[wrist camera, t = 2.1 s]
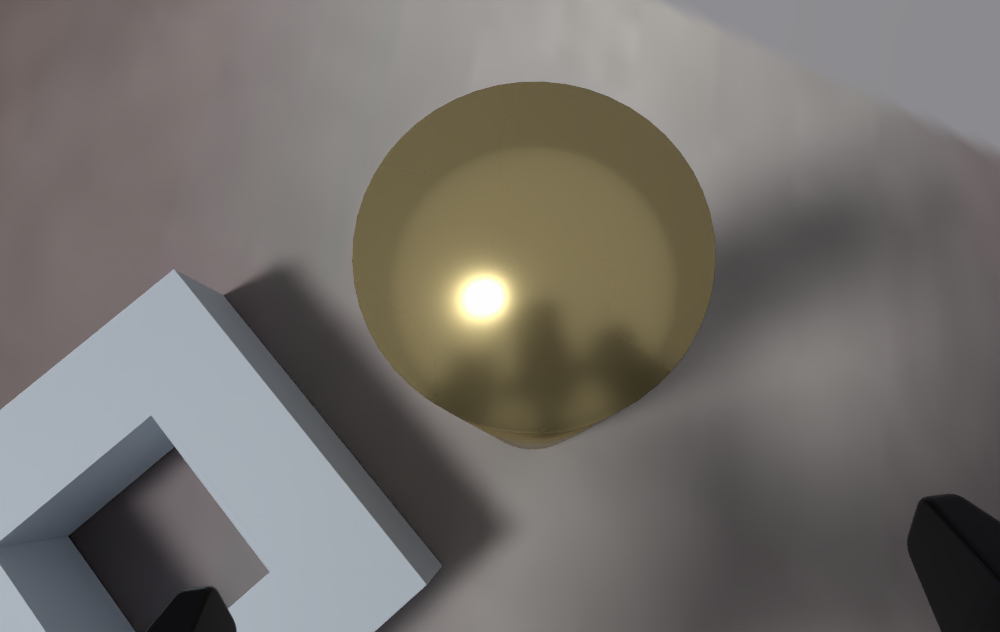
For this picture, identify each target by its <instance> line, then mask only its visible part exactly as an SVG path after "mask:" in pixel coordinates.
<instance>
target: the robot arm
mask: <svg viewBox="0 0 1000 632" xmlns="http://www.w3.org/2000/svg"><path fill="white" fill-rule="evenodd" d="M907 546H908V552H909V556H910V558H911V561H912V563H913V566H914V568H915V570H916V573H917V575H918V577H919V580H920V582H921V585H922V587H923V589H924V592H925V594H926V596H927V599H928V601H929V604H930V606H931V608H932V611H933V613H934V615H935V618H936V620H937V623H938V625H939V627H940V630H941V632H1000V522H999V521H998V520H996V519H995V518H993V517H992V516H990V515H989V514H987V513H986V512H984V511H983V510H981V509H980V508H978V507H977V506H975V505H974V504H972V503H970V502H969V501H967V500H966V499H964V498H963V497H961V496H958V495H955V494H943V495H935V496H927V497H923V498H922V499H921V500H920V501H919V502H918V505H917V508H916V511H915V514H914V518H913V521H912V524H911V528H910V531H909V534H908V539H907ZM145 632H237V629H236V624H235V621H234V619H233V617H232V615H231V614H230V612H229V610H228V608H227V606H226V604H225V603H224V601H223V599H222V597H221V595H220V594H219V592H218V590H217V589H216V588H214V587H212V586H203V587H195V588H187V589H184V590H182V591H180V592H179V593H178V594H176V595H175V597H174V598H173V599H172V600H171V601H170V603H169V604H168V605H167V606H166V607H165V609H164V610H163V611H162V612H161V613H160V615H159V616H158V617H157V618H156V619H155V621H154V622H153V623H152V624H151V625H150V627H149V628H148V629H147V630H146V631H145Z"/></svg>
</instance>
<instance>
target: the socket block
mask: <svg viewBox="0 0 1000 632" xmlns="http://www.w3.org/2000/svg"><path fill="white" fill-rule="evenodd" d="M174 447H175V448H176V449H177V450H178V452H179V453H180V454H181V456H182V457H183V458H184V459H185V461H186V462H187V463H188V465H189V466H190V467H191V469H192V470H193V471H194V473H195V474H196V475H197V477H198V478H199V479H200V481H201V482H202V483H203V485H204V486H205V487H206V489H207V490H208V491H209V492H210V494H211V495H212V496H213V498H214V499H215V500H216V502H217V503H218V504H219V506H220V507H221V508H222V510H223V511H224V512H225V514H226V515H227V516H228V518H229V519H230V520H231V522H232V523H233V524H234V525H235V527H236V528H237V529H238V531H239V532H240V533H241V535H242V536H243V537H244V539H245V540H246V541H247V543H248V544H249V545H250V547H251V548H252V549H253V551H254V552H255V553H256V555H257V556H258V557H259V558H260V560H261V561H262V562H263V564H264V565H265V566H266V568H267V569H268V570H269V573H268V574H267V575H266V576H265V577H264V578H263V579H261V580H260V581H259V582H258V583H257V584H256V585H255V586H253V587H252V588H251V589H250V590H249V591H248V592H247V593H245V594H244V595H243V596H242V597H241V598H240V599H239V600H237V601H236V602H235V603H234V604H233V605H232V606H231V607H229V608H228V610H229V612H230V614H231V615H232V617H233V619H234V621H235V624H236V629H237V632H375V631H376V630H377V629H378V628H379V627H380V626H381V625H383V624H384V623H385V622H386V621H387V620H388V619H389V618H390V617H392V616H393V615H394V614H395V613H396V612H397V611H398V610H399V609H400V608H402V607H403V606H404V605H405V604H406V603H407V602H408V601H409V600H410V599H412V598H413V597H414V596H415V595H416V594H417V593H418V592H419V591H420V590H422V589H423V588H424V587H425V586H426V585H427V584H428V583H429V582H430V580H431V579H432V578H433V577H434V576H435V574H436V573H437V572H438V571H439V569H440V568H441V567H442V565H441V564H440V562H439V561H438V560H437V559H436V557H435V556H434V555H433V554H432V552H431V551H430V550H429V549H428V548H427V546H426V545H425V544H424V543H423V541H422V540H421V539H420V538H419V536H418V535H417V534H416V533H415V531H414V530H413V529H412V528H411V527H410V525H409V524H408V523H407V522H406V520H405V519H404V518H403V517H402V515H401V514H400V513H399V512H398V510H397V509H396V508H395V507H394V506H393V504H392V503H391V502H390V501H389V499H388V498H387V497H386V496H385V494H384V493H383V492H382V491H381V489H380V488H379V487H378V486H377V485H376V483H375V482H374V481H373V480H372V478H371V477H370V476H369V475H368V473H367V472H366V471H365V470H364V468H363V467H362V466H361V465H360V464H359V462H358V461H357V460H356V459H355V457H354V456H353V455H352V454H351V452H350V451H349V450H348V449H347V447H346V446H345V445H344V444H343V443H342V441H341V440H340V439H339V438H338V436H337V435H336V434H335V433H334V431H333V430H332V429H331V428H330V426H329V425H328V424H327V423H326V422H325V420H324V419H323V418H322V417H321V415H320V414H319V413H318V412H317V410H316V409H315V408H314V407H313V405H312V404H311V403H310V402H309V401H308V399H307V398H306V397H305V396H304V394H303V393H302V392H301V391H300V389H299V388H298V387H297V386H296V384H295V383H294V382H293V381H292V380H291V378H290V377H289V376H288V375H287V373H286V372H285V371H284V370H283V368H282V367H281V366H280V365H279V363H278V362H277V361H276V360H275V359H274V357H273V356H272V355H271V354H270V352H269V351H268V350H267V349H266V347H265V346H264V345H263V344H262V342H261V341H260V340H259V339H258V338H257V336H256V335H255V334H254V333H253V331H252V330H251V329H250V328H249V326H248V325H247V324H246V323H245V321H244V320H243V319H242V318H241V317H240V315H239V314H238V313H237V312H236V310H235V309H234V308H233V307H232V305H231V304H230V303H229V302H228V300H227V299H226V298H225V297H224V296H223V295H222V294H220V293H218V292H217V291H215V290H213V289H211V288H209V287H207V286H205V285H203V284H201V283H199V282H198V281H196V280H194V279H192V278H190V277H188V276H186V275H184V274H182V273H180V272H179V271H177V270H175V269H174V270H172V271H171V272H170V273H169V274H167V275H166V276H165V277H164V278H162V279H161V280H160V281H159V282H158V283H156V284H155V285H154V286H153V287H151V288H150V289H149V290H148V291H146V292H145V293H144V294H143V295H142V296H140V297H139V298H138V299H137V300H135V301H134V302H133V303H132V304H130V305H129V306H128V307H127V308H125V309H124V310H123V311H122V312H121V313H119V314H118V315H117V316H116V317H114V318H113V319H112V320H111V321H109V322H108V323H107V324H106V325H105V326H103V327H102V328H101V329H100V330H98V331H97V332H96V333H95V334H93V335H92V336H91V337H90V338H88V339H87V340H86V341H85V342H84V343H82V344H81V345H80V346H79V347H77V348H76V349H75V350H74V351H72V352H71V353H70V354H69V355H68V356H66V357H65V358H64V359H63V360H61V361H60V362H59V363H58V364H56V365H55V366H54V367H53V368H52V369H50V370H49V371H48V372H47V373H45V374H44V375H43V376H42V377H40V378H39V379H38V380H37V381H35V382H34V383H33V384H32V385H31V386H29V387H28V388H27V389H26V390H24V391H23V392H22V393H21V394H19V395H18V396H17V397H16V398H15V399H13V400H12V401H11V402H10V403H8V404H7V405H6V406H5V407H3V408H2V409H1V410H0V632H135V630H134V629H133V627H132V626H131V625H130V623H129V622H128V620H127V619H126V618H125V616H124V615H123V613H122V612H121V610H120V609H119V608H118V606H117V605H116V603H115V602H114V601H113V599H112V598H111V596H110V595H109V593H108V592H107V591H106V589H105V588H104V586H103V585H102V584H101V582H100V581H99V579H98V578H97V576H96V575H95V574H94V572H93V571H92V569H91V568H90V567H89V565H88V564H87V562H86V561H85V559H84V558H83V557H82V555H81V554H80V552H79V551H78V550H77V548H76V547H75V545H74V544H73V543H72V541H71V540H70V538H69V537H68V536H69V535H70V534H71V533H73V532H74V531H75V530H76V529H77V528H78V527H80V526H81V525H82V524H83V523H84V522H86V521H87V520H88V519H89V518H90V517H92V516H93V515H94V514H95V513H96V512H98V511H99V510H100V509H101V508H102V507H103V506H105V505H106V504H107V503H108V502H109V501H111V500H112V499H113V498H114V497H115V496H117V495H118V494H119V493H120V492H121V491H123V490H124V489H125V488H126V487H127V486H129V485H130V484H131V483H132V482H133V481H134V480H136V479H137V478H138V477H139V476H140V475H142V474H143V473H144V472H145V471H146V470H148V469H149V468H150V467H151V466H152V465H154V464H155V463H156V462H157V461H158V460H159V459H161V458H162V457H163V456H164V455H165V454H167V453H168V452H169V451H170V450H171V449H173V448H174Z"/></svg>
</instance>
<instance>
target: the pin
mask: <svg viewBox="0 0 1000 632" xmlns="http://www.w3.org/2000/svg"><path fill="white" fill-rule="evenodd" d="M715 262H716V254H715V235H714V230H713V225H712V220H711V215H710V211H709V208H708V205H707V202H706V199H705V196H704V193H703V191H702V189H701V187H700V185H699V183H698V181H697V178H696V176H695V174H694V172H693V171H692V169H691V168H690V166H689V165H688V163H687V162H686V160H685V159H684V157H683V156H682V154H681V153H680V151H679V150H678V149H677V148H676V147H675V146H674V145H673V143H672V142H671V141H670V140H669V139H668V138H667V137H666V135H665V134H663V133H662V132H661V131H660V130H659V129H658V128H657V127H655V126H654V125H653V124H652V123H651V122H650V121H649V120H647V119H646V118H644V117H643V116H641V115H640V114H639V113H637V112H636V111H634V110H633V109H631V108H630V107H628V106H626V105H624V104H622V103H620V102H618V101H616V100H614V99H612V98H610V97H608V96H605V95H602V94H600V93H597V92H594V91H591V90H588V89H585V88H580V87H576V86H571V85H567V84H559V83H550V82H518V83H511V84H503V85H497V86H493V87H489V88H486V89H482V90H478V91H475V92H472V93H470V94H467V95H465V96H462V97H460V98H457V99H455V100H453V101H451V102H449V103H447V104H446V105H444V106H442V107H440V108H438V109H436V110H435V111H433V112H432V113H431V114H429V115H428V116H426V117H425V118H424V119H422V120H421V121H419V122H418V123H417V124H416V125H415V126H413V127H412V128H411V129H410V130H409V131H408V132H407V133H406V134H405V135H404V136H403V137H402V138H401V139H400V140H399V141H398V142H397V143H396V144H395V146H394V147H393V148H392V149H391V150H390V152H389V153H388V154H387V155H386V157H385V158H384V160H383V161H382V163H381V164H380V166H379V168H378V169H377V171H376V172H375V174H374V176H373V178H372V180H371V182H370V184H369V186H368V188H367V190H366V193H365V195H364V197H363V201H362V204H361V207H360V210H359V213H358V216H357V222H356V227H355V233H354V238H353V260H352V263H353V273H354V284H355V289H356V293H357V297H358V302H359V306H360V309H361V312H362V314H363V317H364V319H365V322H366V325H367V327H368V330H369V331H370V333H371V335H372V337H373V339H374V341H375V342H376V344H377V346H378V348H379V350H380V351H381V352H382V354H383V355H384V356H385V358H386V359H387V360H388V362H389V363H390V365H391V366H392V367H393V368H394V369H395V371H396V372H397V373H398V374H399V375H400V376H401V377H402V378H403V379H404V380H405V381H406V382H407V383H408V384H409V385H410V386H411V387H413V388H414V389H415V390H416V391H418V392H419V393H420V394H422V395H423V396H424V397H425V398H427V399H428V400H429V401H431V402H433V403H434V404H436V405H438V406H440V407H441V408H443V409H445V410H446V411H448V412H450V413H452V414H453V415H455V416H457V417H459V418H461V419H463V420H464V421H466V422H468V423H470V424H472V425H474V426H475V427H477V428H479V429H481V430H483V431H485V432H486V433H488V434H490V435H492V436H494V437H496V438H497V439H499V440H501V441H503V442H505V443H507V444H509V445H512V446H515V447H518V448H523V449H542V448H547V447H551V446H554V445H556V444H559V443H561V442H563V441H565V440H566V439H568V438H570V437H572V436H574V435H576V434H578V433H580V432H581V431H583V430H585V429H587V428H589V427H591V426H593V425H595V424H597V423H598V422H600V421H602V420H604V419H606V418H608V417H610V416H612V415H613V414H615V413H617V412H619V411H621V410H622V409H624V408H626V407H627V406H629V405H631V404H633V403H634V402H636V401H638V400H639V399H640V398H642V397H643V396H644V395H646V394H647V393H648V392H649V391H651V390H652V389H653V388H654V387H656V386H657V385H658V384H659V383H660V382H661V381H662V380H663V379H664V378H665V377H666V376H667V375H668V374H669V373H670V372H671V371H672V370H673V369H674V368H675V366H676V365H677V364H678V362H679V361H680V360H681V358H682V357H683V355H684V354H685V353H686V351H687V350H688V349H689V347H690V345H691V343H692V342H693V340H694V338H695V336H696V334H697V332H698V330H699V329H700V327H701V324H702V321H703V319H704V316H705V313H706V311H707V308H708V305H709V301H710V297H711V292H712V288H713V283H714V274H715Z"/></svg>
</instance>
